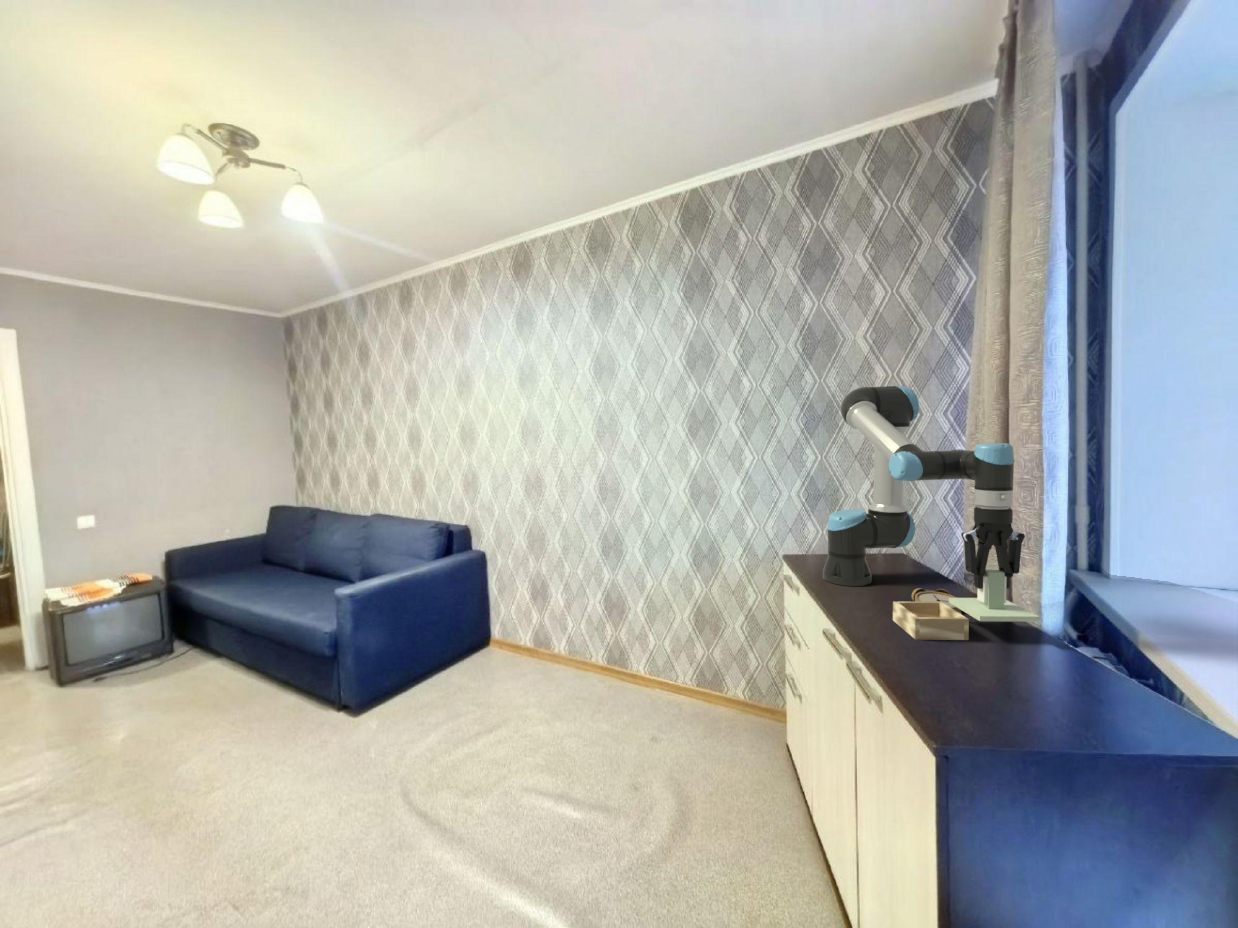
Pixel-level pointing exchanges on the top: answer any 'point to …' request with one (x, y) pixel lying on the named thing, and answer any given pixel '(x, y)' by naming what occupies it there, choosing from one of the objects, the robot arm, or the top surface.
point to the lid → (994, 603)
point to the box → (931, 621)
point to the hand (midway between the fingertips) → (991, 600)
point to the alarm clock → (934, 597)
